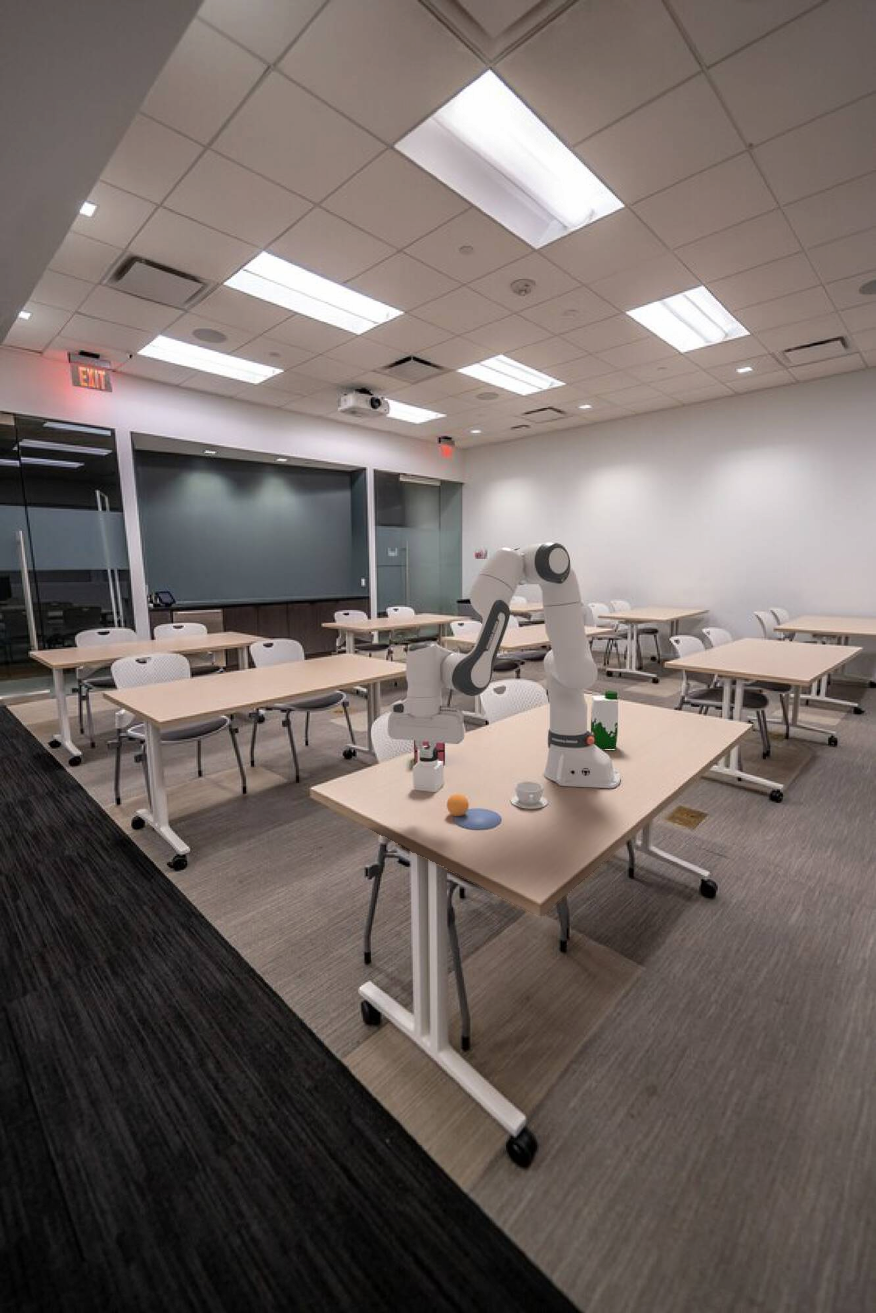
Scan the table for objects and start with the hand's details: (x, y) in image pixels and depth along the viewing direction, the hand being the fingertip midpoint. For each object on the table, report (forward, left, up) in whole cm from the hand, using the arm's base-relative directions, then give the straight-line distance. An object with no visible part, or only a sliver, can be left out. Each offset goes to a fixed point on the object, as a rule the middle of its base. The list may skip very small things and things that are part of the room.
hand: (426, 757), depth 141 cm
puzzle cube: (+15, -38, -15) cm, 43 cm away
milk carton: (-39, -70, -15) cm, 81 cm away
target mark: (-14, 0, -15) cm, 20 cm away
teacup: (-24, -14, -15) cm, 32 cm away
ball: (-8, 0, -12) cm, 15 cm away
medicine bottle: (+6, -16, -15) cm, 23 cm away
